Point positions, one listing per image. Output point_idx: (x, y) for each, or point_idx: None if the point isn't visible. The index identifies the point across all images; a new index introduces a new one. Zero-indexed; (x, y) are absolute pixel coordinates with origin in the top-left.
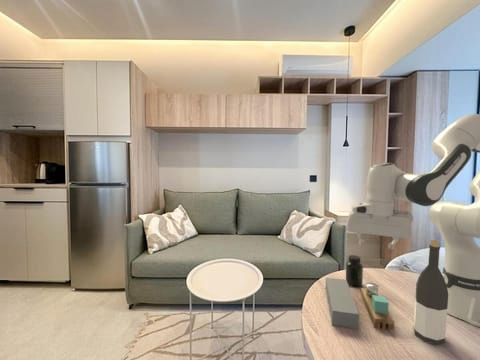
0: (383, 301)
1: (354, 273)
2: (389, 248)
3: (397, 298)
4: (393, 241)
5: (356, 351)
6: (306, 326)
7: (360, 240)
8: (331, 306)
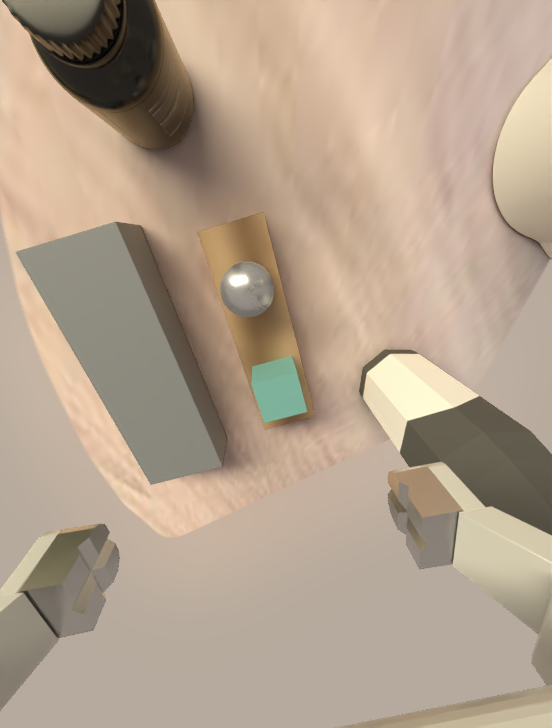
0: (290, 411)
1: (132, 124)
2: (395, 517)
3: (348, 172)
4: (509, 572)
5: (233, 502)
6: (112, 485)
7: (41, 641)
8: (139, 461)
